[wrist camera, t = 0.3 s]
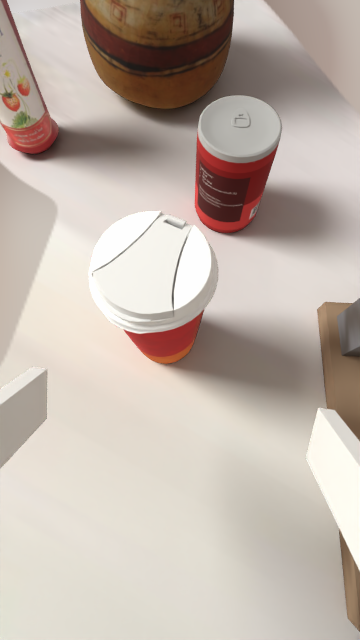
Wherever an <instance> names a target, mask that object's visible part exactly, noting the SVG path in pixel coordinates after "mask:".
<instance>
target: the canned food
mask: <svg viewBox="0 0 360 640" xmlns="http://www.w3.org/2000/svg"><path fill="white" fill-rule="evenodd" d="M281 131H282V124H281V120H280V117H279V115H278V114H277V112H276V111H275V110H274V109H273V108H272V107H271V106H270V105H269V104H267V103H265V102H264V101H262V100H260V99H257V98H254V97H250V96H243V95H233V96H227V97H223V98H220V99H218V100H216V101H214V102H212V103H211V104H209V105H208V106H207V107H206V108H205V109H204V110H203V112H202V114H201V116H200V119H199V124H198V132H197V153H196V183H195V208H196V212H197V214H198V216H199V218H200V220H201V221H202V223H203V224H204V225H206V226H207V227H208V228H210V229H212V230H214V231H217V232H222V233H231V232H236V231H239V230H241V229H243V228H244V227H246V226H247V225H248V224H249V223H250V222H251V221H252V220H253V218H254V217H255V215H256V212H257V210H258V207H259V203H260V200H261V197H262V194H263V191H264V188H265V185H266V182H267V179H268V176H269V173H270V170H271V166H272V163H273V160H274V157H275V154H276V151H277V147H278V144H279V141H280V136H281Z"/></svg>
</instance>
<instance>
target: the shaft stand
mask: <svg viewBox="0 0 360 640" xmlns="http://www.w3.org/2000/svg"><path fill="white" fill-rule="evenodd" d="M317 311H318V322H319V332H320V342H321V352H322V362H323V372H324V382H325V392H326V403H327V409H331V410H335V411H336V412H337V414H338V415H339V416H340V417H341V419H342V420H343V421H344V422H345V424H346V425H347V426H348V427H349V429H350V430H351V431H352V432H353V434H354V435H355V436H356V437H357V439H358V440H359V441H360V298H359V299H358V300H357V301H356V302H354V303H335V302H325V303H324V304H323V305H322V306H321V307H319V308H318V309H317ZM339 534H340V544H341V554H342V565H343V575H344V585H345V595H346V605H347V615H348V619H349V620H350V621H351V622H352V623H353V625H354V626H355V627H356V628H357V629H358V630H359V631H360V571H359V569H358V566H357V564H356V562H355V560H354V558H353V556H352V554H351V552H350V550H349V548H348V546H347V543H346V541H345V539H344V537H343V535H342V533H341V531H340V529H339Z"/></svg>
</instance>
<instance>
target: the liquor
mask: <svg viewBox="0 0 360 640" xmlns="http://www.w3.org/2000/svg"><path fill="white" fill-rule="evenodd" d="M0 123H1V125H2V126H3V128H4V130H5V131H6V133H7V141H8V143H9V145H10V146H11V147H12V148H14V149H16V150H18V151H21V152H25V153H30V154H38V153H42V152H44V151H46V150H47V149H48V148H50V146H51V145H52V144H53V142H54V141H55V139H56V138H57V135H58V131H59V129H58V125H57V123H56V122H55V121H54V120H53V119H52V118H51V117H50V115H49V112H48V110H47V107H46V105H45V102H44V100H43V97H42V95H41V92H40V90H39V87H38V84H37V82H36V79H35V77H34V74H33V71H32V69H31V66H30V63H29V61H28V58H27V56H26V53H25V50H24V47H23V44H22V42H21V39H20V36H19V33H18V30H17V28H16V25H15V22H14V19H13V17H12V14H11V11H10V8H9V5H8V3H7V0H0Z"/></svg>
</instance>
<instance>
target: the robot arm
mask: <svg viewBox="0 0 360 640" xmlns="http://www.w3.org/2000/svg"><path fill="white" fill-rule="evenodd" d="M46 419H47V369H46V368H39V367H31V368H29V369H28V370H27V371H25V372H24V373H22V374H21V375H19V376H18V377H16V378H15V379H14V380H12V381H11V382H9V383H8V384H6V385H5V386H3V387H2V388H0V468H1V467H2V466H3V465H4V464H5V463H6V462H7V461H8V460H9V459H10V458H11V457H12V456H13V454H14V453H15V452H16V451H17V450H18V449H19V448H20V447H21V446H22V445H23V444H24V443H25V441H26V440H27V439H28V438H29V437H30V436H31V435H32V434H33V433H34V432H35V431H36V430H37V428H38V427H39V426H40V425H41V424H42V423H43V422H44V421H45V420H46ZM306 460H307V462H308V464H309V466H310V468H311V470H312V472H313V474H314V477H315V479H316V481H317V483H318V485H319V487H320V489H321V491H322V493H323V495H324V497H325V500H326V502H327V504H328V506H329V508H330V510H331V512H332V514H333V516H334V518H335V520H336V523H337V525H338V527H339V529H340V531H341V533H342V535H343V537H344V539H345V541H346V543H347V546H348V548H349V550H350V552H351V554H352V556H353V558H354V560H355V562H356V564H357V566H358V569H359V571H360V441H359V440H358V439H357V437H356V436H355V435H354V434H353V432H352V431H351V430H350V429H349V427H348V426H347V425H346V424H345V422H344V421H343V420H342V419H341V417H340V416H339V415H338V414H337V412H336V411H335V410H331V409H324V408H318V410H317V414H316V418H315V422H314V426H313V430H312V434H311V438H310V443H309V447H308V451H307V455H306Z"/></svg>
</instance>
